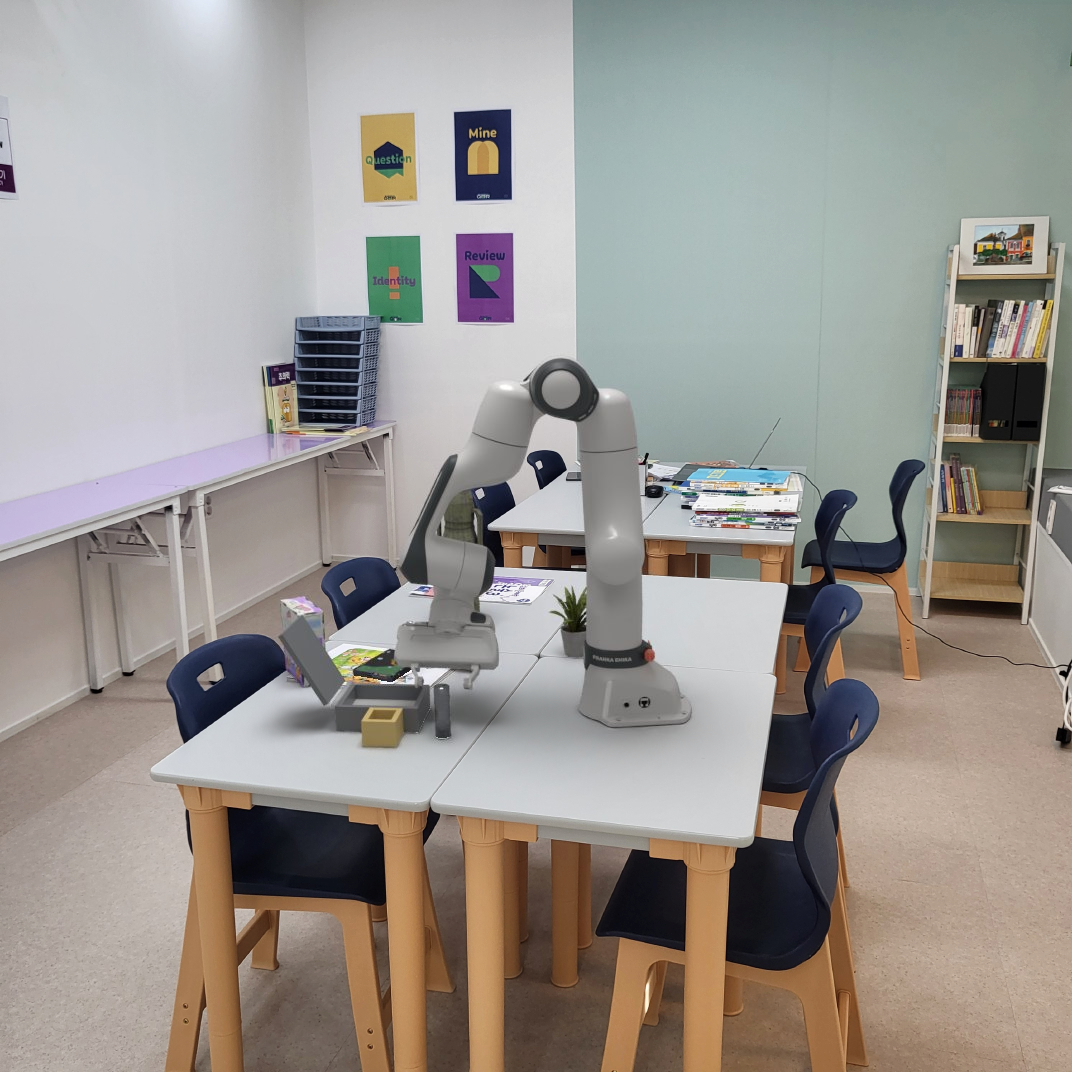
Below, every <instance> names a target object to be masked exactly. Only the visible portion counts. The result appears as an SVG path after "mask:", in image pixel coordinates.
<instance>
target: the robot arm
mask: <svg viewBox="0 0 1072 1072" xmlns="http://www.w3.org/2000/svg"><path fill="white" fill-rule="evenodd" d="M545 415H547V416H550V417H553V418H556V419H561V420H567V421H570V422H574V423H575V426H576V429H577V434H578V435H577V436H578V450H579V463H580V477H581V478H580V479H581V489H582V490H581V492H582V494H581V495H582V512H583V528H584V544H585V545H584V546H585V548H584V549H585V559H586V574H585V575H586V580H585V581H586V582H585V583H586V586H585V588H586V593H585V594H586V608H585V611H586V615H585V617H586V623H585V625H586V640H585V642H584V651H583V654H584V655H583V667H584V680H583V684H582V691H581V696H580V699H579V701H578V705H577V708H578V711H579V712H580V713H581V714H582V715H584V716H585V717H588V718H589V719H592V720H596V721H599V722H601V723H602V724H604V725H605V726H607V727H609V728H620V727H621V728H622V727H623V728H624V727H638V726H640V727H641V726H657V725H659V726H660V725H676V724H677V725H679V724H684V723H686V722H687V721H689V719H690V718H691V716H692V705H691V702H690V700H689V698H688V697H687V696H686V695H685V694H684V693H682V692H681V690H680V686H679V683H678V680H677V678H676V676H675V675H674V674H673V673H672V672H671V671H670V670H668V669H667V668H665V667H664V666H662V665H661V664H660V663H659V662H657V661H656V660H655V659H656V654H655V651H654V650H653V645H652V644H651V642H650V640H648V639H647V641H646V640H644V639H643V608H644V607H643V603H644V601H643V565H644V562H645V557H646V556H645V552H646V551H645V540H644V539H645V538H644V537H645V536H644V523H643V511H642V498H641V497H642V496H641V484H640V483H641V482H640V480H641V479H640V464H639V462H640V461H639V448H638V436H637V427H636V421H635V416H634V413H633V407H632V403H631V401H630V399H629V397H628V396H627V394H625V393H624V392H623V391H620V389H619V390H618V389H615V388H612V387H611V388H610V387H606V388H605V387H604V388H603V387H602V388H601V387H597V386H596V385H595V383H594V382H593V381H592V379H591V378H590V375H589V374H588V372H587V370H586V369H585V367H584V365H582V363H581V362H579V360H577V359H575V358H573V357H571V356H568V355H564V354H560V355H559V354H557V355H553V356H549V357H547V358H545V359H544V360H541V361H540V363H538V364H537V365H536V367H535V368H534V369H533V370H532V371H531V372H530V373H529V374H528V375H526V377H525V378H524V379H523V381H517V380H512V379H501V380H497V381H495V382H493V383H492V384H491V385H490V386H489V387H488V389H487V390H486V393H485V394H484V396H483V399H482V402H480V405H479V408H478V411H477V413H476V416H475V419H474V423H473V427H472V430H471V434H470V436H469V439H468V441H467V442H466V444H465V445H464V447H463V448H462V449H461V450H460V451H459V452H458V453H455V454H451V455H449V456H448V457H447V459H446V460H445V461H444V463H443V465H441V468H440V470H439V472H438V474H437V476H436V478H435V480H434V483H433V484H432V487H431V488H430V490H429V493H428V494H427V498H426V500H425V502H424V505H423V506H422V508H421V510H420V513H419V515H418V518H417V519H416V522H415V524H414V526H413V528H412V530H411V531H410V533H409V535H408V537H407V538H406V540H405V541H404V543H403V545H402V547H401V550H400V553H399V557H398V570H399V571H400V573H401V574H402V575H403V577H404V578H405V579H406V580H407V582H408V583H409V584H412V585H413V584H414V585H422V586H432V591H433V599H432V601H431V603H430V609H429V617H428V621H411V620H408V621H406V622H404V623H402V624H401V625H400V626H398V628H397V634H396V639H397V641H396V644H395V653H394V658H395V661H396V663H397V664H398V665H399V666H400V667H411V670H412V674H413V676H414V682H413V683H414V686H415V688H423V685H425V679H424V676H419V674H418V673H420V671H421V668H423V669H427V668H428V669H455V670H456V669H457V670H458V669H459V670H464V669H471V670H472V671H471V670H470V671H471V673H470V674H469V676H468V677H464V678H463V685H462V687H463V689H464V690H465V691H467V690H470V691H472V690H473V684H474V683H473V682H475V680H476V679H477V678H478V676H480V672H481V671H480V670H482V671H483V670H486V671H487V670H489V671H490V670H491V671H492V670H493V671H494V670H495V669H497V668H498V666H499V663H500V652H499V651H500V649H499V643H498V638H497V635H496V624H495V621H494V619H493V617H492V616H491V615H490V614H488V613H484V612H481V611H480V612H478V611H475V610H474V598H475V597H479V598H480V596H482V595H484V594H485V593H486V592H488V591H489V590H490V589H491V588H492V586H493V583H494V577H495V566H496V559H495V556H494V554H493V552H492V551H491V550H490V548H488V547H487V546H485V545H483V546H482V545H479V544H474V543H470V542H465V541H459V540H454V539H449V538H445V537H443V536H442V537H440V536H438V535H437V529H438V526H439V524H440V522H441V523H442V519H444V513H445V511H446V509H447V507H448V505H449V503H450V501H451V499H452V498H453V497H454V496H455V495H456V494H458V493H460V492H462V491H464V490H471V489H476V488H478V489H479V488H483V487H492V486H497V485H500V484H503V483H505V482H508V481H510V480H511V479H512V478H514V477H515V476H516V475H517V474H518V473H519V472H520V470H521V468H522V466H523V464H524V461H525V459H526V456H527V452H528V449H529V446H530V442H531V438H532V434H533V430H534V427H535V425H536V423H537V422H538V421H539V420H540V419H541V417H544V416H545Z"/></svg>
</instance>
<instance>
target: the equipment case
mask: <svg viewBox="0 0 1072 1072" xmlns="http://www.w3.org/2000/svg"><path fill="white" fill-rule="evenodd" d="M370 707H373V708H403V722H404V732H419V733H420V731H421V729H422V727H421V726H423V725H422V724H424V722H425V720H426V718H427V716H428V714H429V712H430V710H431V708H430V707H431V687H430V684H423V688H415V686H414V684H412V683H411V684H407V683H395V684H380V683H375V682H370V683H366V682H365V683H364V682H354V681H353V680H351V679H349V680H347V682H346V683H345V685H344V686H343V688H342V689H341V690H340V691H339V693H338V694H337V696H336V697H335V698H334V699H333V701H332V703H330V709H332V710H334V712H335V727H336V728H335V729H336V731H337V732H362V729H361V721H362V719H363V717H364V716H365V714H366V713H367V711H368V710H369V708H370ZM429 709H430V710H429ZM428 711H429V712H428ZM427 713H428V714H427ZM426 715H427V716H426ZM425 717H426V718H425ZM424 719H425V720H424ZM423 721H424V722H423ZM420 728H421V729H420ZM419 730H420V731H419Z"/></svg>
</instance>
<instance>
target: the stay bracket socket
mask: <svg viewBox="0 0 1072 1072" xmlns="http://www.w3.org/2000/svg"><path fill="white" fill-rule="evenodd" d="M361 729H362V731H361V741H362V742H361V743H362V744H361V745H362V747H369V748H371V747H375V748H376V747H379V748H397V747H398V746H399V743H400V741H401V739H402V737H403V736H402V735H404V734H405V733H404V722H403V708H373V707H370V708H369V710H368V711H367V713H366V714H365V716H364V717H363V719H362V721H361ZM403 733H404V734H403Z"/></svg>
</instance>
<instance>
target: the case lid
mask: <svg viewBox="0 0 1072 1072" xmlns="http://www.w3.org/2000/svg"><path fill="white" fill-rule="evenodd" d="M277 637H278V640H279V641H280V642H281V645H283V648H284V647H285V648H286V650H287V651H288V653H289V654H290V656H291V657H292V659H293V660H294V662H295V663H296V665H297V666H298V668H299V669H300V671H301V672H302V674H303V675H304V677H305V678H306V680H307V681H308V683H309V684H310V686H309V687H310V688H311V689H312V691H313V692H314V694H315V695H316V697H317V698H318V700H319V701H320V703H321V705H323V707H326V706H327V705H329V703H330V702H331V701H332V699H333V698H334V697H335V695H336V694H337V693H338V691H339V690H340V689H341V687H342V686H343V685H344V683H345V681H346V679H345V677H344V676H343V675H342V673H341V672H340V670H339V669H338V667H337V666H336V664H335V662H334V661H333V659H332V658H331V656H330V655H329V653H328V652H327V650H325V648H326V647H325V648H324V647H323V645H322V644H321V642H320V641H319V639H318V638H317V636H316V635H315V633H314V632H313V630H312V629H311V627H310V625H309V624H308V622H307V621H306V619H305V618H304V616H303V615H301V616H299V617H298V618H297V619H296V620H295V621H294V622H293V623H292V624H291V625H290V626H289V627H288V628H287V629H286V630H285V631H284V632H283V631H282V632H281V633H280V634H279V635H278V636H277Z"/></svg>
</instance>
